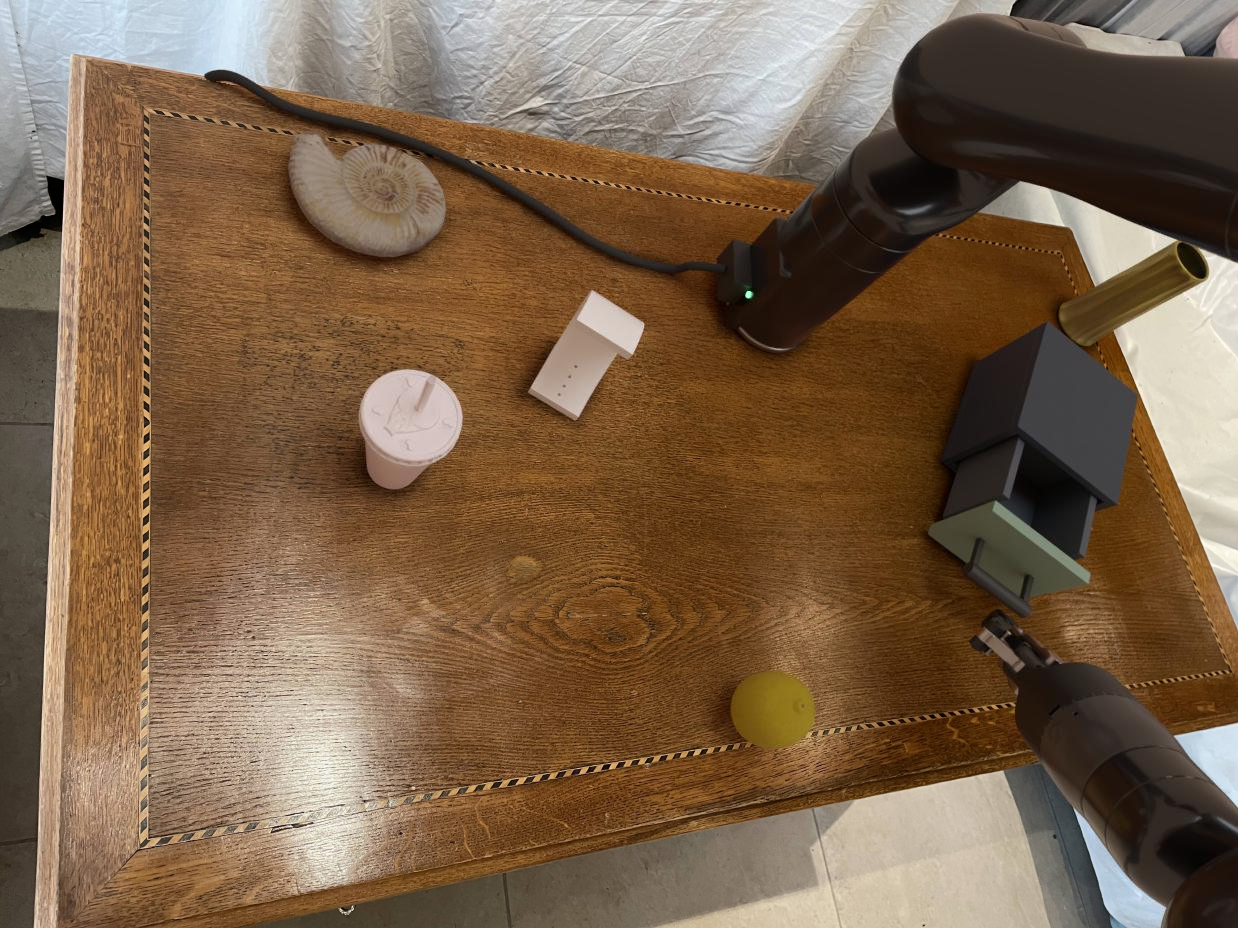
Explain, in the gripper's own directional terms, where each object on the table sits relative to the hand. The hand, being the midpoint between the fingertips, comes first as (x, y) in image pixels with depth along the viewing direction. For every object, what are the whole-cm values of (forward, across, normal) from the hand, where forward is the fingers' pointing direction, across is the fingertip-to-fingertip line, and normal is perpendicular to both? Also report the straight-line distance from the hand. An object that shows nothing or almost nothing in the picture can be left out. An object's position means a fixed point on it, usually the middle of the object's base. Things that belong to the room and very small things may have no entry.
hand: (994, 620), depth 68 cm
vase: (+38, -5, -30) cm, 48 cm away
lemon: (-8, +15, +17) cm, 24 cm away
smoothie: (-8, +48, +16) cm, 52 cm away
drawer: (+12, 0, -5) cm, 13 cm away
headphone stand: (+2, +42, +6) cm, 42 cm away
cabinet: (+21, 0, -13) cm, 24 cm away
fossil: (+4, +63, +4) cm, 63 cm away
